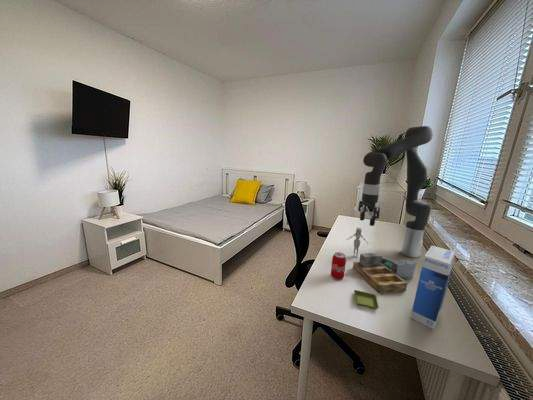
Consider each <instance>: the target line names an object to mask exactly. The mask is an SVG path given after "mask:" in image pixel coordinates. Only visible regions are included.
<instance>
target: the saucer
mask: <svg viewBox="0 0 533 400" xmlns="http://www.w3.org/2000/svg"><path fill="white" fill-rule="evenodd" d="M353 293H354V294H353V295H354V296H353V297H354V303H355V305H356V306H360V307H364V308H367V309H371V310H377V309H379V308H380V307H379V303H378V299H377V295H376V294H375V293H372V292H366V291H361V290H358V289H357V290H356V289H354V290H353Z"/></svg>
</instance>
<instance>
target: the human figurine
mask: <svg viewBox="0 0 533 400" xmlns="http://www.w3.org/2000/svg"><path fill="white" fill-rule="evenodd" d="M362 230H363V229H362V228H361V227H356V231H355V233H354V234H353V235H352V236H350V237H349V238H347V239H346V241H348V240H350V239H352V238H354V237H355V239H354V240H353V247H354V248H353V256H352V257H353V259H358V255H359V248H360V245H361V240H360V239H361V238H362V239H363V241H365V242H366V244H369V242H368V241H367V240H366V238H364V237H363V234H362ZM355 254H356V255H355Z"/></svg>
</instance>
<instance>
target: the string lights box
mask: <svg viewBox="0 0 533 400" xmlns="http://www.w3.org/2000/svg"><path fill="white" fill-rule="evenodd" d="M455 255H456V251H454V250H450V249H446V248H443V247H439V246H435V245H431V246H430V248H428V250H427V252H425V254H424V256H423V261H422V266H421V270H420V273H419V278H418V283H417V288H416V292H415V297H414V300H413V305H412V309H411V313H410V319H412V320H414V321H415V322H418V323H419V324H421V325H424V326H426V327H428V328H430V329H432V330H435V327H436V325H437V322H438V320H439V318H440V315H441V312H442V310H443V309H442V308H443V304H444V301H445V297H446V292H447V289H448V285H449V281H450V278H451V274H452V273H451V272H452V269H453V265H454V261H455Z"/></svg>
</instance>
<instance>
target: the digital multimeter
mask: <svg viewBox="0 0 533 400" xmlns="http://www.w3.org/2000/svg"><path fill="white" fill-rule="evenodd" d="M392 262H393V261H392V260H389V259H386V258H383V257H382V261H381V263H382V264H383V265H384V266H386V267H387V268H388V269H390V270H391V267H392Z"/></svg>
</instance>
